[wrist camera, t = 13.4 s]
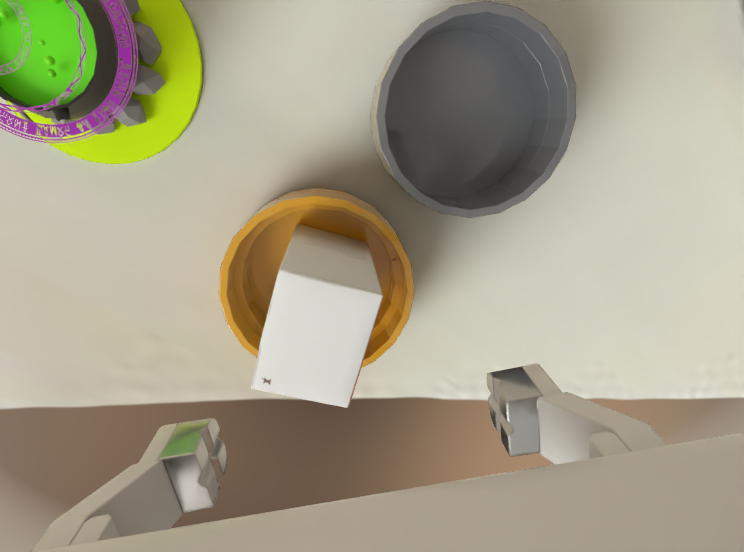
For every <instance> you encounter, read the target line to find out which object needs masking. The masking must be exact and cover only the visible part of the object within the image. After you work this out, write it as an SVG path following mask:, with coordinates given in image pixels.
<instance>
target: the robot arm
mask: <svg viewBox="0 0 744 552" xmlns="http://www.w3.org/2000/svg"><path fill="white" fill-rule="evenodd" d="M487 386H488V388H489V390H490V392H491V395H490V396H489V398H488V401H489V409H490V414H491V418H492V421H493V424H494V426H495V428H496V430H497V431H499V432H501V438H502V442H503V444H504V446H505V448H506V450H507V452H508V454H509V456H510V457H514V456H521V455H528V454H535V453H540V454H541V455H543V456H544V457H545V458H547V459H548V460H550V461H551V462H553V463H554V465H549V466H542V467H537V468H530V469H524V470H518V471H512V472H507V473H500V474H495V475H488V476H482V477H476V478H471V479H464V480H459V481H453V482H447V483H441V484H435V485H429V486H423V487H417V488H411V489H405V490H399V491H393V492H387V493H382V494H375V495H369V496H363V497H358V498H351V499H345V500H339V501H333V502H327V503H322V504H316V505H309V506H304V507H298V508H292V509H285V510H280V511H274V512H268V513H261V514H255V515H250V516H244V517H238V518H232V519H225V520H219V521H213V522H207V523H202V524H196V525H190V526H184V527H178V528H172V529H170V528H171V527H172V526H173V525H174V523H175V522H176V521H177V520H178V519H179V518H180V517H181V516H182V514H183V512H188V511H193V510H198V509H203V508H208V507H213V506H214V503H215V500H216V497H217V494H218V491H219V489H220V487H219V484H218V481H219V480H220V479H221V478H222V477H223V476H224V474H225V470H226V465H227V454H226V449H225V445H224V442H223V441H221V440H220V439H218V438H217V435H218V433H219V430H220V429H219V427H218V424H217V421H216V420H215V419H213V418H211V419H204V420H197V421H190V422H184V423H177V424H170V425H165V426H162V427H160V429H159V430H158V432H157V433H156V435H155V437H154V438H153V440H152V442H151V443H150V445H149V446H148V448H147V450H146V451H145V453H144V455H143V456H142V458H141V460H140V461H139V463H138V464H133V465H131V466H130V467H129V468H127V469H126V470H124V471H123V472H122V473H121V474H119V475H117V476H116V477H115V478H113V479H112V480H111V481H109V482H108V483H106V484H105V485H103V486H102V487H101V488H99V489H98V490H97V491H95V492H94V493H92V494H91V495H90V496H88V497H87V498H85V499H84V500H83V501H81V502H80V503H79V504H77V505H76V506H74V507H73V508H72V509H70V510H69V511H67V512H66V513H65V514H63V515H62V516H60V517H59V518H57V519H56V520H55V521H53V522H52V523H51V525H50V526H49V527H48V529H47V530H46V531H45V533H44V534H43V535H42V537H41V538H40V539H39V541H38V542H37V543H36V545H35V546H34V548H33V549H32V550H31V552H744V433H740V434H734V435H728V436H722V437H716V438H710V439H705V440H698V441H692V442H687V443H680V444H674V445H669V444H668V443H667V442H666V441H665V440H664V439H663V438H662V437H661V436H660V435H659V434H658V433H657V432H656V431H655V430H654V429H653V428H652V427H651V426H650V425H649V424H648V423H646V422H643V421H640V420H638V419H635V418H633V417H630V416H628V415H625V414H622V413H620V412H617V411H615V410H612V409H609V408H607V407H604V406H602V405H599V404H596V403H594V402H591V401H589V400H586V399H584V398H581V397H579V396H576V395H573V394H571V393H568V392H565V393H562V392H561V390H560V389H559V388H558V387H557V386H556V384H555V383H554V382H553V381H552V380H551V378H550V377H549V376H548V375H547V373H546V372H545V371H544V370H543V369H542V367H541V366H540V365H539V364H537V363H536V364H531V365H526V366H521V367H517V368H512V369H507V370H501V371H496V372H491V373H487Z"/></svg>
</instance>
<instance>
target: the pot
mask: <svg viewBox="0 0 744 552" xmlns="http://www.w3.org/2000/svg"><path fill="white" fill-rule="evenodd" d="M370 117H371V118H370V119H371V126H372V134H373V140H374V145H375V148H376V150H377V153H378V155H379V157H380V159H381V161H382V163H383V165H384V167H385V169H386V171H387V172H388V173H389V174H390V175H391V176H392V177H393V178H394V179H395V180H396V181H397V183H398V184H399V185H400V186H401V187H402V188H403V189H404V190H405V191H406V192H407V193H408V194H409V195H411V196H412V197H413V198H414V199H415V200H416V201H418V202H420V203H422V204H424V205H426V206H428V207H430V208H432V209H433V210H435V211H437V212H439V213H442V214H448V215H455V216H461V217H467V218H469V217H470V218H472V217H478V216H484V215H490V214H496V213H500V212H502V211H504V210H506V209H508V208H510V207H512V206H514V205H516V204H518V203H520V202H522V201H524V200H526V199H527V198H528V197H529V196H530V195H531V194H533V193H534V192H535V191H536V190H537V189H538V188H539V187H540V186H541V185H542V184H543V183H545V182H546V181H547V180H548V179H549V178H550V176H551V175H552V173H553V171H554V170H555V168H556V167H557V165H558V163H559V162H560V160H561V158H562V157H563V155H564V154H565V152H566V150H567V147H568V143H569V140H570V136H571V133H572V129H573V126H574V122H575V118H576V85H575V81H574V78H573V74H572V71H571V68H570V65H569V61H568V58H567V55H566V53H565V51H564V50H563V48H562V47H561V46H560V44H559V43H558V42H557V40H556V39H555V37H554V36H553V35H552V33H551V32H550V31H549V29H548V28H547V27H546V26H545V25H544V24H542V23H541V22H539V21H538V20H536V19H535V18H533V17H532V16H530V15H529V14H527V13H526V12H524V11H523V10H521V9H519V8H517V7H512V6H508V5H503V4H499V3H494V2H489V1H487V2H486V1H483V2H477V3H470V4H463V5H457V6H453V7H450V8H448V9H447V10H445V11H443V12H441V13H439V14H437V15H436V16H434V17H432V18H430V19H428V20H426V21H424V22H423V23H421V24H420V25H419V27H418V28H417V29H416V30H415V31H414V32H413V33H412V34H411V35H410V36H409V37H408V38H407V39H406V40H405V41H404V42H403V44H402V45H401V46H400V47H399V48H398V49H397V50H396V52H395V53H394V54H393V55H392V57H391V58H390V59H389V61H388V62H387V64H386V66H385V68H384V71H383V72H382V75H381V77H380V79H379V81H378V83H377V85H376V87H375V91H374V97H373V103H372V110H371V116H370Z"/></svg>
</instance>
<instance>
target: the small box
mask: <svg viewBox="0 0 744 552" xmlns="http://www.w3.org/2000/svg"><path fill="white" fill-rule="evenodd" d="M382 299H383V294H382V290H381V287H380V284H379V280H378V277H377V273H376V270H375V267H374V263H373V259H372V256H371V252H370V249H369V245H368V243H367V242H365V241H361V240H357V239H353V238H349V237H346V236H342V235H338V234H334V233H331V232H327V231H323V230H319V229H316V228H312V227H308V226H305V225H301V224H297V225H296V227H295V230H294V233H293V235H292V238H291V240H290V243H289V245H288V248H287V250H286V253H285V256H284V258H283V261H282V263H281V266H280V269H279V271H278V275H277V278H276V282H275V286H274V290H273V294H272V298H271V302H270V306H269V310H268V314H267V317H266V321H265V325H264V329H263V332H262V337H261V341H260V346H259V352H258V357H257V361H256V366H255V370H254V375H253V380H252V384H251V388H252V389H255V390H261V391H266V392H270V393H275V394H280V395H285V396H290V397H295V398H300V399H305V400H310V401H316V402H320V403H325V404H331V405H336V406H341V407H346V408H347V407H348V406H349V404H350V401H351V398H352V395H353V392H354V389H355V386H356V383H357V380H358V376H359V373H360V370H361V367H362V363H363V360H364V357H365V354H366V351H367V348H368V344H369V341H370V338H371V335H372V331H373V328H374V325H375V322H376V318H377V315H378V312H379V309H380V306H381V302H382Z"/></svg>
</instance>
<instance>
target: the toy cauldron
mask: <svg viewBox="0 0 744 552" xmlns="http://www.w3.org/2000/svg"><path fill="white" fill-rule="evenodd" d="M201 88H202V59H201V52H200V46H199V41H198V39H197V36H196V33H195V30H194V27H193V24H192V21H191V19H190V17H189V16H188V14H187V12H186V10H185V8H184V6H183V5H182V3H181V1H180V0H0V97H2V98H3V99H4V100H6V101H7V103H8V104H9V105H6V104H1V103H0V105H2V106H3V107H5V108H6V109H4V108H1V107H0V111H1V113H0V115H3V113H4V112H5V114H4V115H3V116H4V117H6V115H7V117H6V118H4V117H3V116H0V119H1V120H2V121H3V122H2V121H1V120H0V122H2V123H4V124H6V125H8V124H10V123H11V122H12V124H10V125H8V126H10V127H12V128H14V129H17V130H19V131H22V132H24V131H25V130H26V132H25V133H28V134H32V135H37V136H39V137H41V138H38V137H33V136H29V135H26V134H22V133H20V132H17V131H15V130H12V129H10V128H8V127H6V126H4V125H2V124H1V123H0V125H1V126H2V127H5V129H4V128H2V127H0V128H2V129H4V130H6V128H8V130H11V131H12V132H13V131H14V132H15V133H18V134H21V135H22V136H20V135H17V134H15V135H17V136H20V137H23V135H25V137H26V136H28V138H26V139H29V137H31V138H35V139H36V138H37V139H38V140H39V139H41V140H45V141H46V142H45V143H49V144H50V145H52V146H54V147H56V148H57V149H59V150H61V151H63V152H65V153H67V154H69V155H72V156H75V157H78V158H81V159H84V160H87V161H92V162H99V163H107V164H121V163H132V162H136V161H140V160H143V159H147V158H150V157H151V156H153V155H155V154H157V153H159V152H161V151H163V150H165V149H166V148H167V147H168V146H170V145H171V144H172V143H173V142H174V141H175V140H177V139H178V138H179V137H180V135H181V134H182V133H183V131H184V130H185V129H186V127H187V126H188V125H189V123H190V121H191V119H192V117H193V115H194V112H195V110H196V108H197V106H198V101H199V97H200V92H201ZM6 106H9V107H11V108H12V110H11V109H9V108H8V107H6ZM5 110H8V111H14V113H15V114H16V115H17V116H18V117H17V116H15V115H12V114H11V113H9V112H7V111H5ZM9 116H10V119H12V118H14V119H12V120H11V121H10V120H9ZM16 119H18V123H19V122H20V121H21V124H20V129H19V124H18V125H17V126H15V125H16V124H17V120H16ZM6 120H8V124H7V121H6ZM15 120H16V122H15ZM24 123H25V128H28V129H25V130H24V128H22V127H24ZM14 124H15V125H14ZM26 125H27V127H26ZM14 126H15V127H14ZM8 130H6V131H8ZM8 132H10V131H8ZM12 132H10V133H12ZM12 134H14V133H12ZM25 137H23V138H25ZM30 140H33V139H30ZM38 140H34V141H38ZM39 142H44V141H39Z"/></svg>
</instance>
